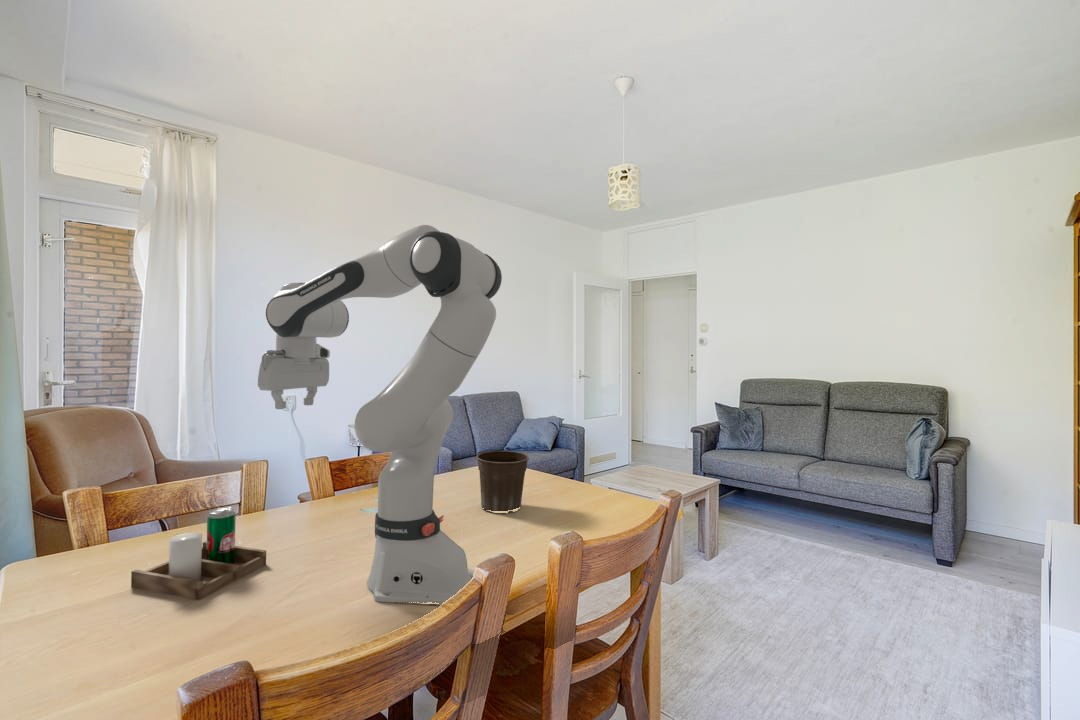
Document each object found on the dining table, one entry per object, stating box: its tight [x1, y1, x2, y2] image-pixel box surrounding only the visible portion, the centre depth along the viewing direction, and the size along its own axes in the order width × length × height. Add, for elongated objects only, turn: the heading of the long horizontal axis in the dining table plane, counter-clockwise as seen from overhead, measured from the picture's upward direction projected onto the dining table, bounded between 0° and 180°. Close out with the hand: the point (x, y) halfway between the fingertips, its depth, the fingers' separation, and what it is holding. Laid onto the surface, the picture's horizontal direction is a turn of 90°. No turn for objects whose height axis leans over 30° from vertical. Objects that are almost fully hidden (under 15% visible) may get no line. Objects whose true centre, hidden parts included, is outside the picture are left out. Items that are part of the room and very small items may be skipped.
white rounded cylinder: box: [168, 532, 203, 581], centre depth 96 cm, size 5×5×9 cm
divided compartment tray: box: [130, 540, 267, 601], centre depth 100 cm, size 16×16×4 cm
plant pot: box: [476, 450, 530, 511], centre depth 152 cm, size 16×16×16 cm
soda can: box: [206, 506, 237, 564], centre depth 104 cm, size 5×5×12 cm
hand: (295, 407), depth 121 cm, fingers open, 8 cm apart
